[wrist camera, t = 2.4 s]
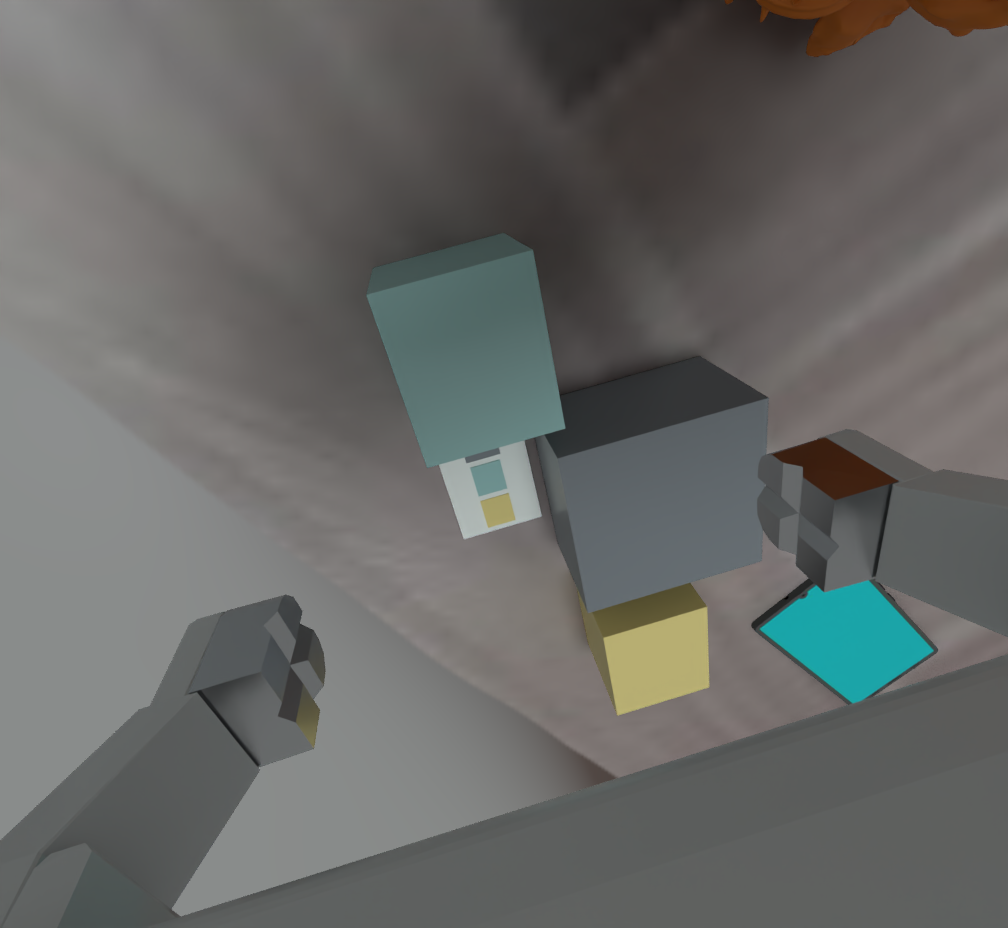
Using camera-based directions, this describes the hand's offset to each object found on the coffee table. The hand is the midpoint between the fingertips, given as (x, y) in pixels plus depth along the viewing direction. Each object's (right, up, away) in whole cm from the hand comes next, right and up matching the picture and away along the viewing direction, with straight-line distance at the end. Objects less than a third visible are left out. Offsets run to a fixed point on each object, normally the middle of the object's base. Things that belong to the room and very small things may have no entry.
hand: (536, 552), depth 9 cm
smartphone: (+23, -10, +27) cm, 37 cm away
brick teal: (-2, +7, +12) cm, 14 cm away
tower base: (+5, +2, +16) cm, 17 cm away
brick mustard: (+6, -6, +21) cm, 23 cm away
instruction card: (-1, +1, +15) cm, 15 cm away
